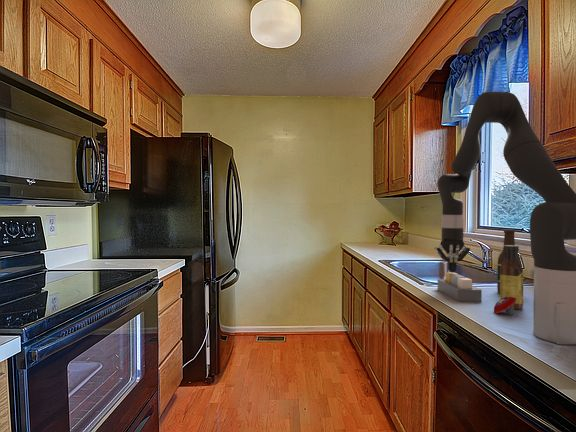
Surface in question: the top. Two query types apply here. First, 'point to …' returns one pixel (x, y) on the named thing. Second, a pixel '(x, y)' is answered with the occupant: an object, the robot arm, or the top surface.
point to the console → (459, 291)
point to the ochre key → (449, 276)
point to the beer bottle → (507, 241)
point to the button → (505, 305)
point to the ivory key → (464, 283)
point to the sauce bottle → (511, 276)
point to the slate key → (455, 279)
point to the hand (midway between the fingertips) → (451, 271)
